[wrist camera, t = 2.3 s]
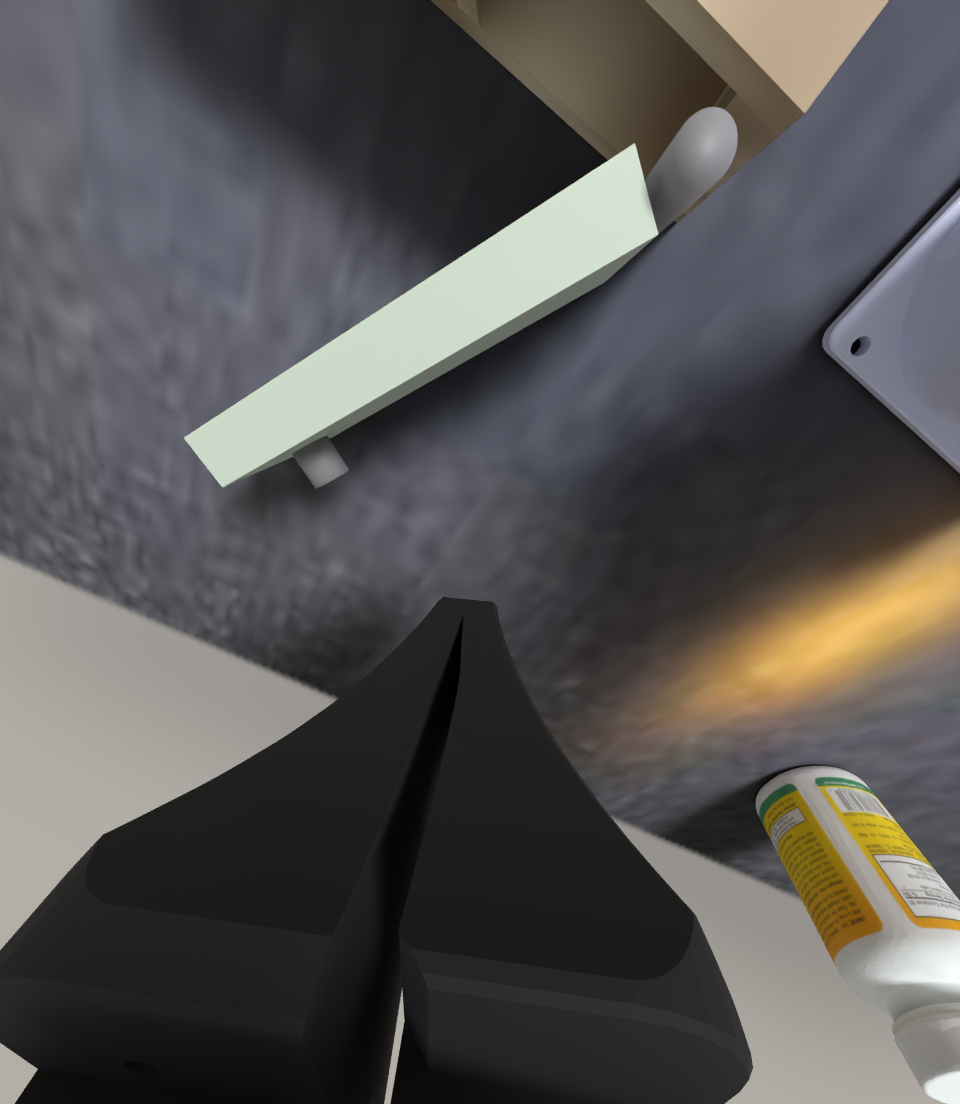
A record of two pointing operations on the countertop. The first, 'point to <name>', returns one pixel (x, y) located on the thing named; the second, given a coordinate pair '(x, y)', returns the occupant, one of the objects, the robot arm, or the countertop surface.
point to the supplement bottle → (875, 911)
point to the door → (467, 306)
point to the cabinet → (669, 63)
